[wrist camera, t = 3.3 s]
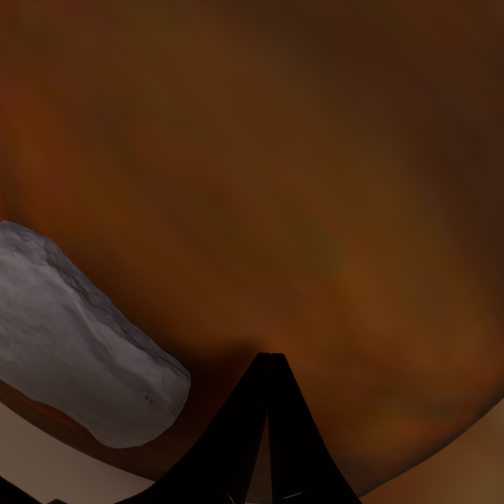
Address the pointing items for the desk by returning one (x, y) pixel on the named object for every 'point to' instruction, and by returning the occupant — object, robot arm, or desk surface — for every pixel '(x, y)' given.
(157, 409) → the stone block
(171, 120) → the desk surface
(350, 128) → the desk surface
